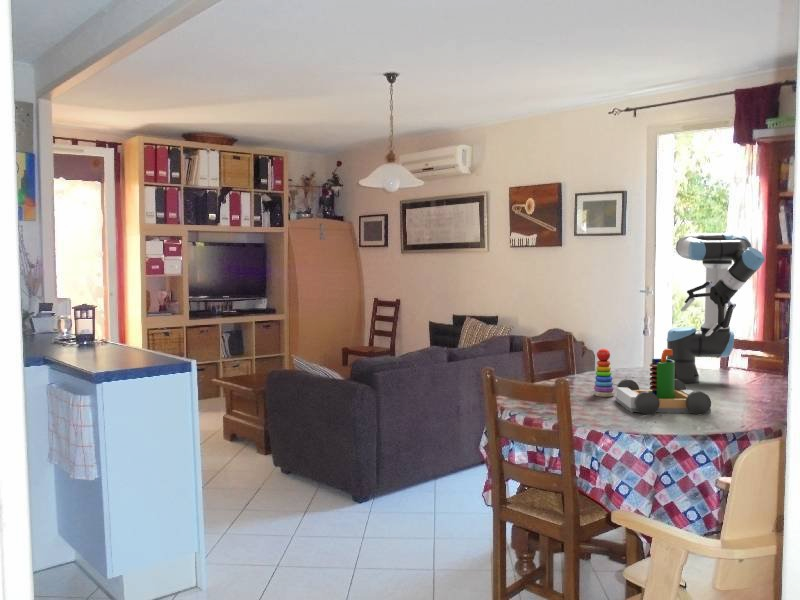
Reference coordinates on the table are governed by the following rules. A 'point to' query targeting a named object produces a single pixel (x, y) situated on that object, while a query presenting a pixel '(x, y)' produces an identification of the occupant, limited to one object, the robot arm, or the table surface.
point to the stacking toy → (603, 375)
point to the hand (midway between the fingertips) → (694, 322)
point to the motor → (663, 376)
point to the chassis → (650, 403)
